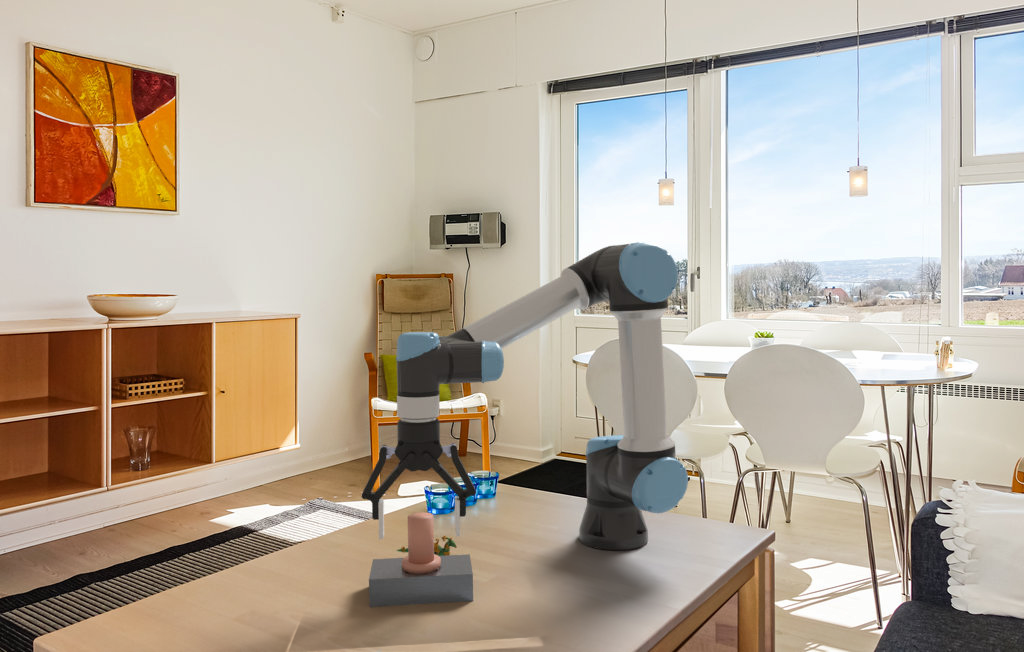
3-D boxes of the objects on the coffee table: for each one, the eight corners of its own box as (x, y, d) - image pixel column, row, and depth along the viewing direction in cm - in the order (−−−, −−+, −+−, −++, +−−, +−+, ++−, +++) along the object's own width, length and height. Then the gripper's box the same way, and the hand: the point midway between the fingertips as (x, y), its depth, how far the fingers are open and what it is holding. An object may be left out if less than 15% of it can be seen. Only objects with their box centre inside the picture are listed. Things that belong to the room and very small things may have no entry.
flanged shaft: (441, 582, 142) (439, 509, 142) (441, 598, 135) (440, 521, 135) (403, 584, 141) (401, 511, 141) (401, 600, 134) (400, 522, 134)
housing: (470, 585, 144) (469, 554, 144) (473, 607, 134) (472, 573, 134) (373, 590, 142) (373, 559, 142) (369, 613, 132) (368, 579, 132)
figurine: (458, 571, 152) (457, 530, 151) (397, 576, 149) (396, 535, 149) (455, 565, 155) (455, 526, 154) (396, 571, 152) (395, 530, 152)
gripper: (486, 413, 142) (487, 526, 143) (349, 416, 139) (351, 531, 140) (489, 420, 134) (490, 539, 135) (345, 423, 132) (347, 545, 133)
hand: (419, 535), depth 138 cm, fingers open, 13 cm apart
